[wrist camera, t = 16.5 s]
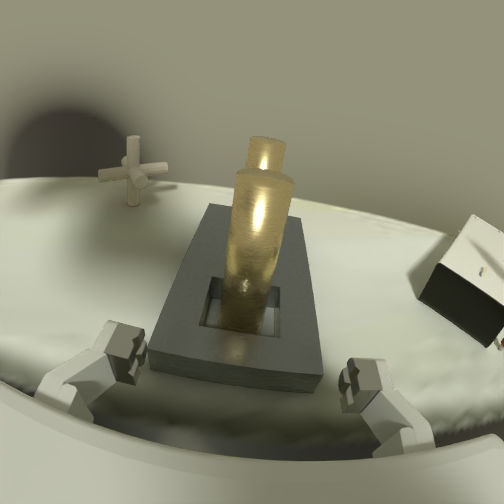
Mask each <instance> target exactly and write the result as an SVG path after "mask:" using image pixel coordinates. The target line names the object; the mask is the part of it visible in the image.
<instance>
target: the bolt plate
mask: <svg viewBox="0 0 504 504" xmlns="http://www.w3.org/2000/svg"><path fill="white" fill-rule="evenodd" d="M285 148H286V143H285V142H283V141H281V140H277V139H274V138H269V137H261V136H253V137H250V143H249V148H248V155H247V161H246V168H261V169H268V170H272V171H276V172H279V173H281V169H282V163H283V158H284V153H285ZM246 168H245V169H246ZM231 213H232V207H231V206H225V205H218V204H211V203H209V206H208V208H207V210H206V212H205V214H204V216H203V218H202V220H201V223H200V225H199V227H198V229H197V231H196V233H195V235H194V238H193V240H192V242H191V244H190V246H189V249H188V251H187V253H186V255H185V258H184V260H183V262H182V264H181V267H180V269H179V271H178V274H177V276H176V278H175V281H174V283H173V285H172V288H171V290H170V292H169V295H168V297H167V299H166V302H165V304H164V307H163V309H162V312H161V314H160V316H159V319H158V321H157V324H156V326H155V329H154V331H153V334H152V336H151V339H150V341H149V344H148V347H147V352H148V358H149V364H150V369H152V370H157V371H161V372H166V373H170V374H175V375H180V376H184V377H190V378H195V379H200V380H206V381H212V382H217V383H224V384H230V385H237V386H244V387H252V388H260V389H269V390H279V391H290V392H303V393H313V392H314V390H315V389H316V387H317V385H318V383H319V382H320V380H321V378H322V377H323V366H322V357H321V349H320V341H319V333H318V325H317V318H316V311H315V304H314V297H313V290H312V283H311V277H310V270H309V264H308V258H307V252H306V246H305V240H304V234H303V229H302V223H301V218H297V217H292V216H287V220H286V225H285V229H284V233H283V238H282V242H281V246H280V251H279V255H278V259H277V264H276V268H275V272H274V276H273V280H272V284H271V289H270V293H269V297H268V301H267V305H266V306H267V307H274V337H268V336H261V335H254V334H247V333H240V332H234V331H227V330H221V329H215V328H209V327H204V326H203V324H204V320H205V316H206V312H207V308H208V304H209V300H210V298H216V299H221V294H222V285H223V277H224V268H225V260H226V252H227V244H228V236H229V228H230V220H231Z"/></svg>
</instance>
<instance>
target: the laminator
mask: <svg viewBox="0 0 504 504" xmlns="http://www.w3.org/2000/svg"><path fill="white" fill-rule="evenodd" d="M458 232H459V234H458V236H457V237H456V239H455V240H454V242H453V243H452V244H451V246H450V247H449V249H448V250H447V251H446V253H445V254H444V255H443V257H442V258H441V259H440V261H439V262H438V263H437V265H436V267H435V269H434V271H433V273H432V275H431V276H430V278H429V280H428V282H427V284H426V286H425V288H424V290H423V292H422V293H421V295H420V297H419V301H422V302H423V303H425V304H426V305H428V306H429V307H431V308H432V309H434V310H435V311H437V312H438V313H439V314H441V315H442V316H444V317H445V318H447V319H448V320H449V321H451V322H452V323H454V324H455V325H457V326H458V327H459V328H461V329H462V330H464V331H465V332H466V333H468V334H469V335H471V336H472V337H473V338H475V339H476V340H477V341H479V342H480V343H481V344H483V345H484V346H485V347H486V348H487V347H489V346H490V344H491V343H492V342H493V341H494V339H495V338H496V337H497V335H498V334H499V333H500V331H501V330H502V329H503V327H504V233H503V232H501V231H500V230H498V229H497V228H495V227H493V226H492V225H490V224H489V223H487V222H485V221H484V220H482V219H480V218H479V217H477V216H475V215H474V214H472V215H471V217H470V218H469V219H468V221H467V223H466V224H465V226H464V227H463V229H462V230H458Z"/></svg>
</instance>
